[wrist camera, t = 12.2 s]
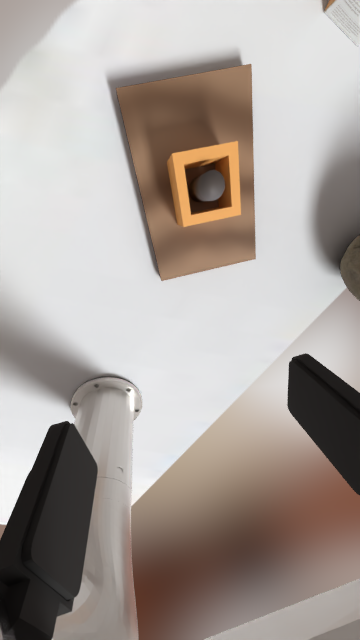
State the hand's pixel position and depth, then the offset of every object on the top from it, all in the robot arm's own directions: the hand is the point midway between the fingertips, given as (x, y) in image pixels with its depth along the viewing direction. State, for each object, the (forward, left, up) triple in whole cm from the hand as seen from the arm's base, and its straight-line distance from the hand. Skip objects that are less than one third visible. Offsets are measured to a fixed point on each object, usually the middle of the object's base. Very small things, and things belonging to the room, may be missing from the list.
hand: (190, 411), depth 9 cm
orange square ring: (+9, -8, -24) cm, 26 cm away
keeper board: (+9, -8, -25) cm, 28 cm away
